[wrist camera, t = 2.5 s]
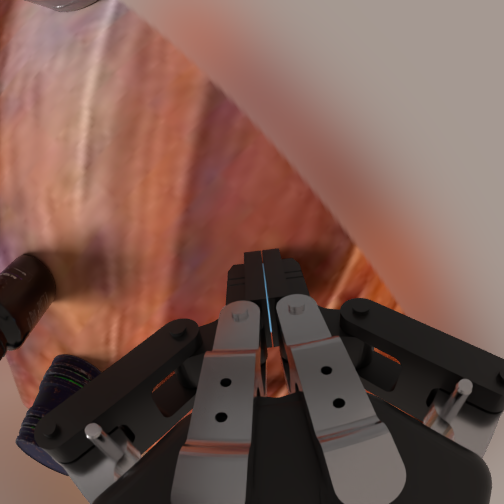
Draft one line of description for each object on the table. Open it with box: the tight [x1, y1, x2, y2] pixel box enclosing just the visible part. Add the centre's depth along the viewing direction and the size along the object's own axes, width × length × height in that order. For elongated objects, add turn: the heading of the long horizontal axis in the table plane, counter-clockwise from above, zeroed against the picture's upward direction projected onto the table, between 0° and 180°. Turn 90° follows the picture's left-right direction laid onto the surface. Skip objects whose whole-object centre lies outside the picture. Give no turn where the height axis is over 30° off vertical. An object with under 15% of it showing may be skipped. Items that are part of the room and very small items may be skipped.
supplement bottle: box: [0, 255, 56, 360], centre depth 23 cm, size 7×7×12 cm
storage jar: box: [16, 355, 101, 476], centre depth 29 cm, size 10×10×15 cm
